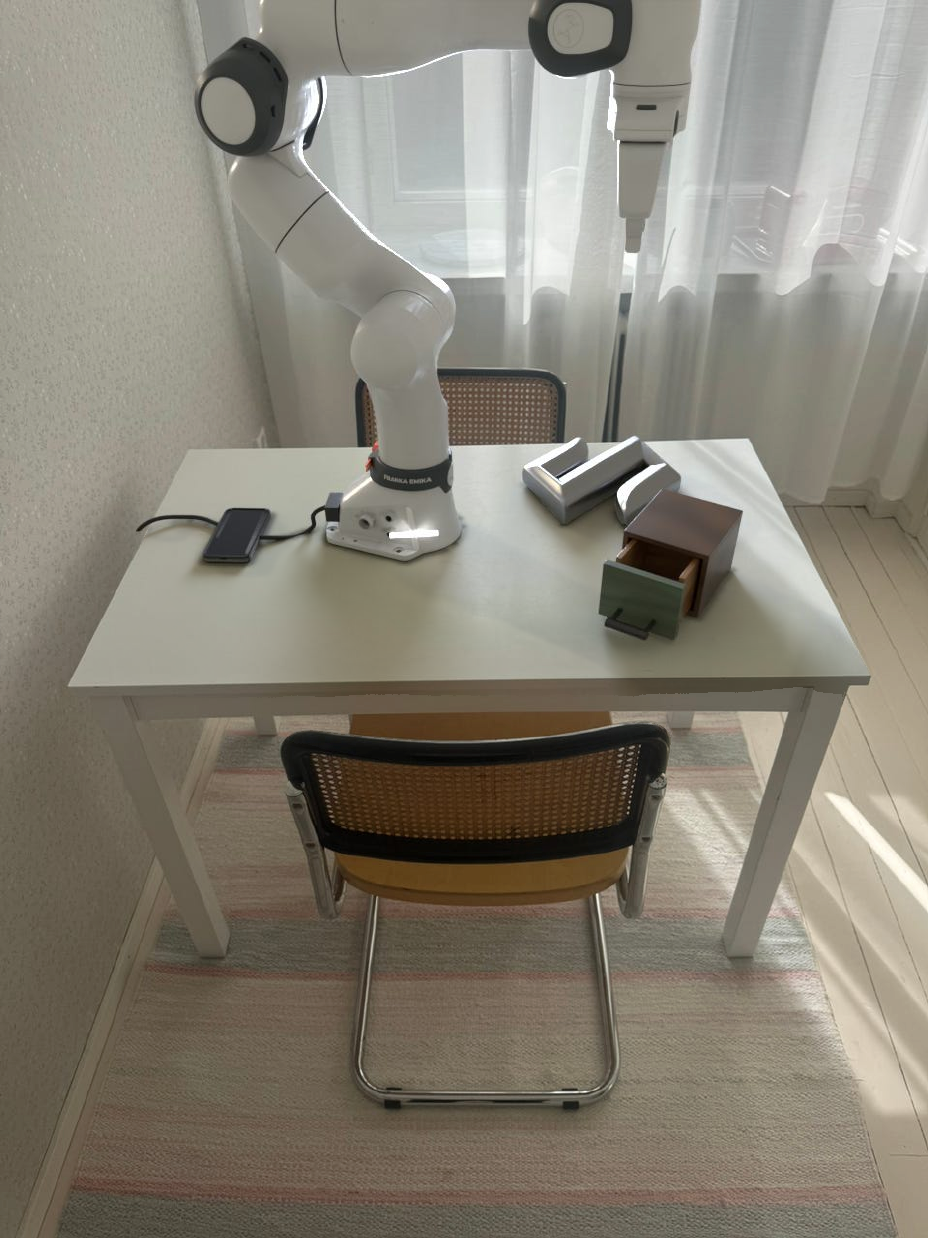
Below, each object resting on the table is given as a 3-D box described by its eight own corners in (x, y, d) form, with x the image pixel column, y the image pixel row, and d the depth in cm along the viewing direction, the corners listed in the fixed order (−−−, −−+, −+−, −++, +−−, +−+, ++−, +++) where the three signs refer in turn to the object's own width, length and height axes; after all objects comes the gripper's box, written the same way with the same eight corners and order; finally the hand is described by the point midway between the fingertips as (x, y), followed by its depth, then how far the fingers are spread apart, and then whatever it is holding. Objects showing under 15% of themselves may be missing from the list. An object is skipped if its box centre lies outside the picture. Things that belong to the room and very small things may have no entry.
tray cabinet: (697, 617, 120) (709, 556, 113) (616, 590, 125) (623, 530, 119) (730, 569, 129) (743, 510, 122) (654, 546, 135) (662, 488, 128)
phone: (271, 508, 144) (248, 556, 132) (272, 513, 145) (249, 562, 133) (226, 507, 144) (199, 555, 133) (227, 513, 145) (201, 561, 133)
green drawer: (662, 657, 112) (671, 605, 106) (585, 629, 117) (590, 578, 111) (707, 592, 123) (717, 542, 118) (635, 569, 128) (642, 520, 123)
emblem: (533, 421, 159) (683, 431, 155) (532, 447, 163) (679, 457, 158) (510, 494, 138) (683, 508, 133) (510, 521, 141) (678, 537, 137)
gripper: (626, 99, 104) (615, 219, 112) (612, 125, 88) (601, 262, 97) (678, 99, 103) (663, 221, 111) (673, 125, 87) (657, 265, 96)
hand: (634, 241), depth 104 cm, fingers open, 8 cm apart
